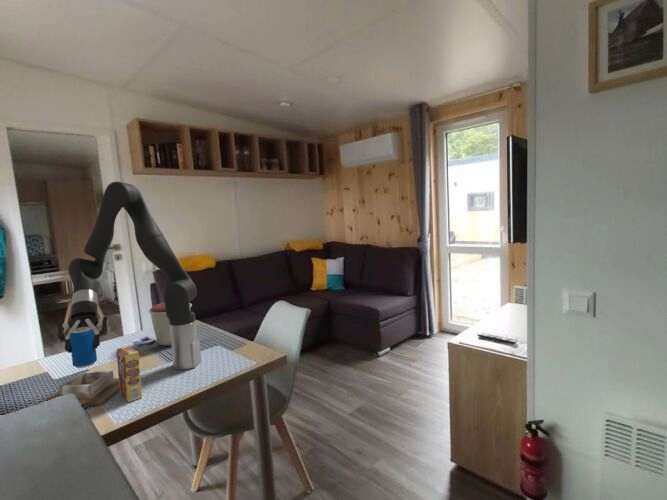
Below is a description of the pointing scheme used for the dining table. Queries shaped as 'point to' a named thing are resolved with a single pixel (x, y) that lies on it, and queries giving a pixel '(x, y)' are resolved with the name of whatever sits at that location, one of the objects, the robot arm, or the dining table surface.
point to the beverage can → (83, 347)
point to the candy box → (129, 373)
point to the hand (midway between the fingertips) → (82, 349)
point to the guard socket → (90, 388)
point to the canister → (161, 323)
